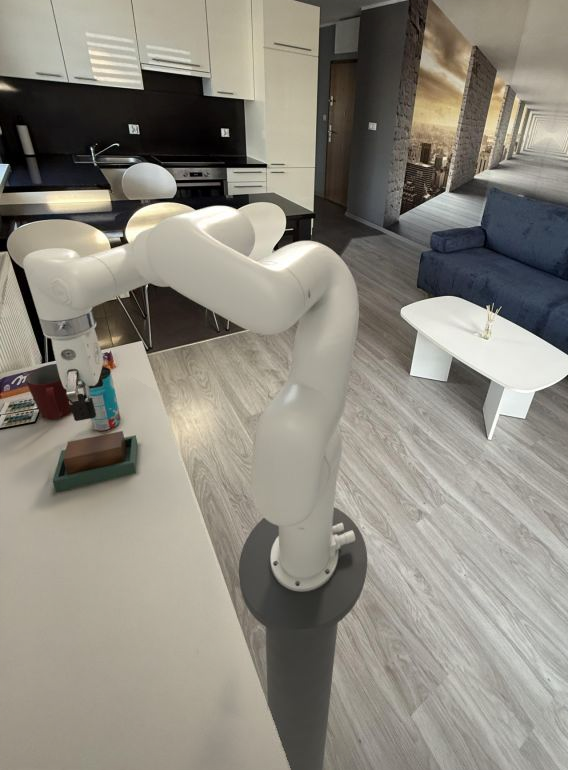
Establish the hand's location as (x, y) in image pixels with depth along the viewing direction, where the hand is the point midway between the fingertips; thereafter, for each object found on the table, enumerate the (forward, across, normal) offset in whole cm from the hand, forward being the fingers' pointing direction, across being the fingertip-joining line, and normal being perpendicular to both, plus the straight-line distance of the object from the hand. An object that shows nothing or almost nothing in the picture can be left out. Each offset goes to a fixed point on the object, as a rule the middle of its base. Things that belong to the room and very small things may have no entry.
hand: (90, 402), depth 75 cm
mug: (+20, +26, +14) cm, 36 cm away
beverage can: (+20, +18, +3) cm, 28 cm away
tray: (+20, +5, +2) cm, 21 cm away
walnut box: (+20, +4, +2) cm, 20 cm away
